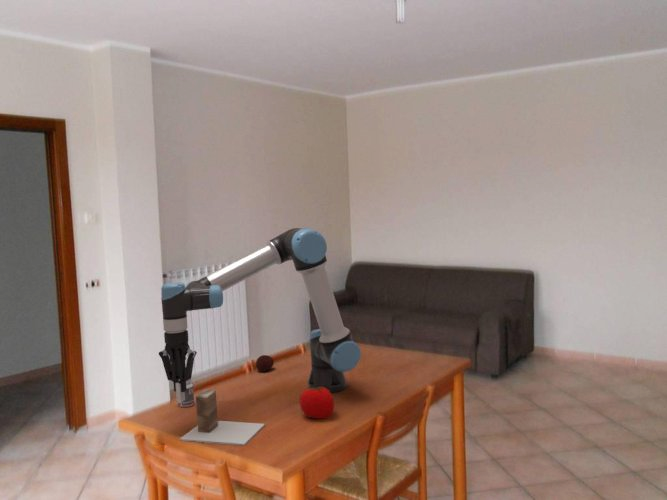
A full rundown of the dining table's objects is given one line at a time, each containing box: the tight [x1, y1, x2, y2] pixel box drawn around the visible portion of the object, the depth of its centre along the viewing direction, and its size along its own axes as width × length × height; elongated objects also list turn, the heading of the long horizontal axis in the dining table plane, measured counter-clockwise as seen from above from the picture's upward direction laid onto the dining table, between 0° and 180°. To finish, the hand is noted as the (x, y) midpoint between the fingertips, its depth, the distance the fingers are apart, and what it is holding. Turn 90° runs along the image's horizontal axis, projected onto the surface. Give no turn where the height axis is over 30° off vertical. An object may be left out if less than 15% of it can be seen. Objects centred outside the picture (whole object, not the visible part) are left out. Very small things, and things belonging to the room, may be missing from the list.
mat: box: [179, 420, 266, 447], centre depth 188 cm, size 22×16×1 cm
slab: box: [195, 389, 219, 433], centre depth 190 cm, size 4×6×12 cm, turn 164°
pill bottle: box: [177, 378, 195, 408], centre depth 216 cm, size 6×6×10 cm
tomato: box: [299, 387, 335, 419], centre depth 199 cm, size 11×13×10 cm
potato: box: [255, 354, 275, 372], centre depth 256 cm, size 7×8×7 cm
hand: (181, 401), depth 193 cm, fingers closed
